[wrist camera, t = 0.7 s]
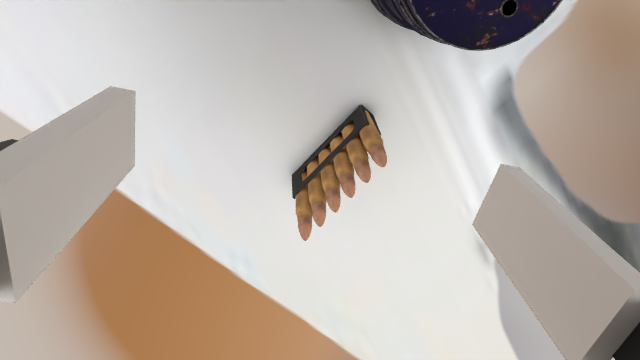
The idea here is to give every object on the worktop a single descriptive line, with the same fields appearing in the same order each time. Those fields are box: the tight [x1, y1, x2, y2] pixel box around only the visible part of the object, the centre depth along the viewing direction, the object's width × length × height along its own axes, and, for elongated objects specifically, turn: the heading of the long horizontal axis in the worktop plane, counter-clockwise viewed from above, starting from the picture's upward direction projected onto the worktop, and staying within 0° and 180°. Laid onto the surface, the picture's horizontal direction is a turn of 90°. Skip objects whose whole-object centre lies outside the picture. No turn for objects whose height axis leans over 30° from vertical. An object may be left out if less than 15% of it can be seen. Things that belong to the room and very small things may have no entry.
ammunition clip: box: [292, 105, 387, 241], centre depth 36 cm, size 11×2×12 cm, turn 138°
